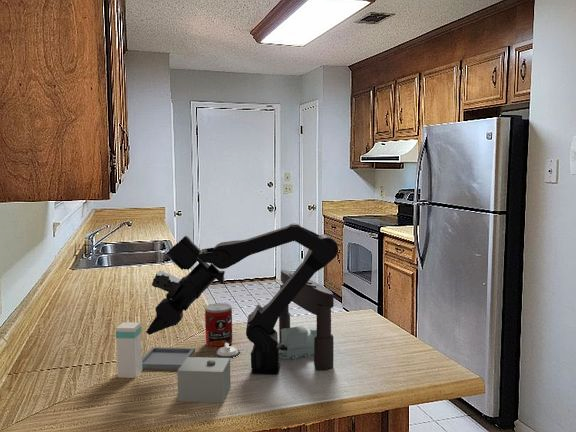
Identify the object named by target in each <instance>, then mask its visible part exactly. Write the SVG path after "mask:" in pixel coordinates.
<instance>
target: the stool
mask: <svg viewBox="0 0 576 432" xmlns="http://www.w3.org/2000/svg"><path fill="white" fill-rule="evenodd" d="M293 273H294V272H292V271H289V270H286V269H281V270H280V282H281V284H280V287H279V290H280V289H281V288H282V286H283V285H284V284H285V283H286V281H287V280H288V279H289V278H290V277H291V275H292V274H293ZM334 301H335V300H334V293H333V291H331V290H330V289H328V288H327V287H325V286H323V285H321V284H319V283H318V282H316V281H314V280H313V279H310V280H309V281H308V282H307V283H306V284H305V286H304V287H303V288H302V289H301V290H300V292H299V293H298V294H297V295H296V296H295V298H294V299H293V300H292V301H291V303H294V304H295V305H297V306H299V307H300V308H301V309H303V310H305V311H306V312H308V313H311V314H314V315H315V316H316V327H311V328H310V332H308V330H307V328H306V327H305V326H303V325H299V326H292V327H291V313H290V312H289V309H290V307H289V305H290V304H289V305H288V306H287V307H286V308H285V310H284V311H283V312H282V313H281V315H280V316H279V318H278V327H279V328H278V336H279V338H278V339H279V340H278V342H280V343H281V342H282V343H281V344H279V351H281V352H279V359H285V360H288V359H291V360H297V358H299V357H304V358H310V356H314V357H313V360H314V361H313V362H314V363H313V364H314V365H313V366H314V369H315V370H317V371H321V370H322V371H323V370H324V371H325V370H330V369H333V368H334V358H335V357H334V352H335V351H334V343H335V342H334V335H333V333H332V309H333V308H334V306H335V305H334V304H335V303H334Z"/></svg>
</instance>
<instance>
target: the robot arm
mask: <svg viewBox="0 0 576 432" xmlns="http://www.w3.org/2000/svg"><path fill="white" fill-rule="evenodd" d="M291 242H295V243H297V244H299V245H301V246H303V247H304V248H306V249H308V250H307V252H306V254H305V256H304V259H303V260H302V262H301V263H300V264H299V266H298V267H297V268H296V270H294V272H293V274H292V275H291V277H290V278H289V279H288V280H287V281H286V283H285V284H282V285H283V286H282V288H281V289H280V288H279V290H278V291H277V292H276V294H275V295H274V296H273V297H272V298H271V300H269V302H267V304H265V305H264V306H261V305H260V304H259V303H258V304H257V305H256V306H255V308H254V309H253V311H252V312H251V313H250V314H248V316H247V322H246V330H245V334H246V338H247V340H249V342H251V344H253V346H252V350H251V352H250V368H251V369H252V370H251V373H252V374H253V375H255V374H256V375H257V374H260V375H262V374H263V375H265V374H266V375H277V374H279V372H280V368H281V362H280V358H279V353H280V350H279V346H280V343H279V340H278V339H279V338H278V336H279V335H278V331H277V330H276V329H274V328H275V327H276V324H277V321H279V316H280V315H281V313H282V312H283V311H284V310H285V308H286V307H287V306H288V305H290V304H291V303H292V300H293V299H294V298H295V296H296V295H297V294H298V293H299V292H300V290H301V289H302V288H303V287H304V286H305V284H306V283H307V282H308V281H309V280H311V278H312V277H313V276H314V275H315V274H316V273H317V272H318V271H321V270H322V269H323V268H324V267H326V266H327V265H328V264H330V262H332V261H333V260H334V259H335V258H336V257H337V256H338V254H339V246H338V244H337V242H336V241H335V239H334V238H333V237H332V236H330V235H328V234H318V233H316V232H314V231H311V230H309V229H308V228H305V227H302V226H301V225H300V224H298V223H293V222H292V223H291V224H289V225H287V226H283V227H280V228H278V229H275V230H271V231H268V232H265V233H262V234H259V235H257V236H253V237H250V238H246V239H240V240H239V239H237V240H230V241H222V242H220V243H217V244H216V245H215V246H214V247H209V248H206V247H205V248H202V249H200V248H199V246H197V245H196V244H195V243H194V242H193V241H192V239H190V237H189V236H188V235H185V236H183V237H182V238H181V239H180V240H179V241H178V242H176V243H175V244H174V245H173V246H172V247H171V248H170V249H169V250H168V251H167V252H166V253H165V256H167V258H168V259H170V261H172V263H173V264H175V265H176V266H177V267H178V268H179V269H180V271H183V270H185V271H186V270H187V271H189V273H188V274H186V275H185V276H183V277H182V278H178V277H176V276H174V275H172V274H170V273H168V272H166V271H164V270H158V271H157V272H156V273H155V276H154V278H153V280H152V283H151V286H152V287H154V288H155V289H157V288H158V289H160V290H162V291H164V292H167V293H166V295H165V298H163V299H162V300H161V301H160V302H159V303H158V304H157V306H155V314H156V315H155V317H154V319H153V321H152V322H151V323H150V325H149V327H147V330H146V331H145V333H146V334H147V335H149V336H150V335H152V334H155V333H157V332H160V331H163V330H165V329H168V328H171V327H176V326H177V325H178V324H179V323H180V322H181V320H182V319H183V317H184V311H187V310H188V309H189V307H190V306H191V305H192V304H193V303H194V302H195V301H196V300H198V299H199V298H200V297H201V295H202V294H203V293H204V291H206V290H207V289H208V288H209V287H210V286H211V284H213V282H215V281H216V280H217V281H218V282H219V283H220V284H221V285H222V284H224V282H225V274H226V271H225V269H228V268H230V267H233V266H234V265H236V264H237V263H239V262H241V261H242V260H244V259H246V258H247V257H250V256H252V255H254V254H259V253H260V252H265V251H267V250H270V249H273V248H276V247H279V246H282V245H286V244H289V243H291ZM197 262H198V263H197ZM196 263H197V265H196ZM194 265H196V266H195V267H194ZM192 267H194V268H193V269H192V270H191V271H190V269H191V268H192Z"/></svg>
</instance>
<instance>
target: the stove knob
mask: <svg viewBox="0 0 576 432" xmlns="http://www.w3.org/2000/svg"><path fill="white" fill-rule="evenodd" d="M240 353H241V351H240V350H239V349H237V348H236V347H234V346H231V345H230V346H229V344H228V343H225V347H222V348H217V350H215V351H214V353H213V355H214V357H216V356H217V357H216V358H232V359H234V358H233V357H236V356H238V355H239V354H240ZM240 355H241V354H240ZM238 357H239V356H238ZM236 358H237V357H236Z"/></svg>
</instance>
